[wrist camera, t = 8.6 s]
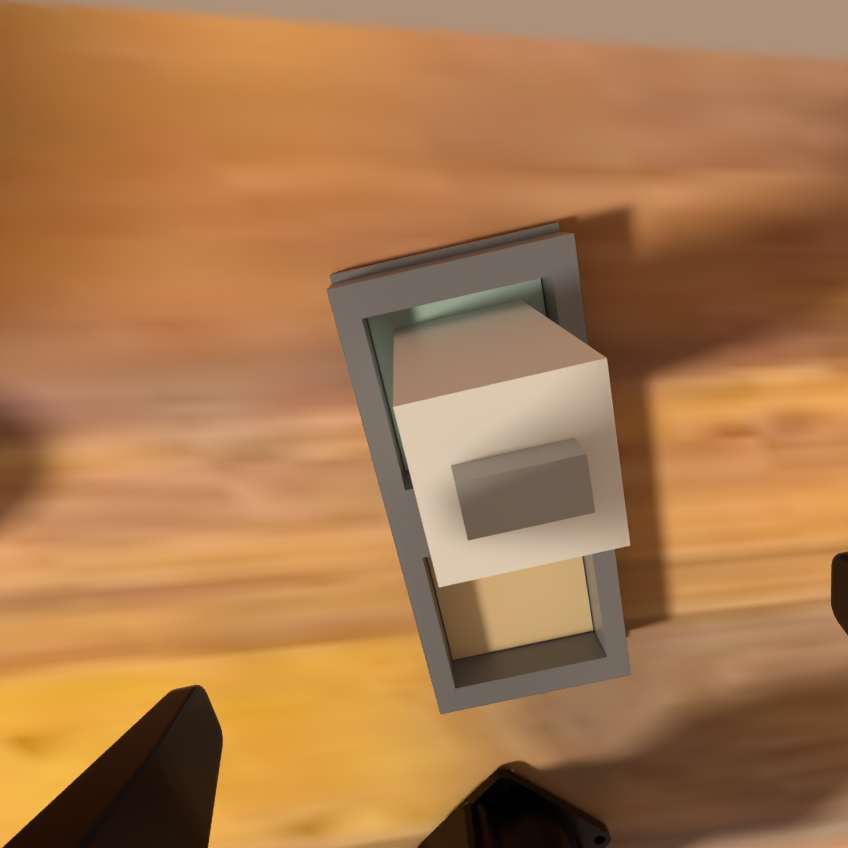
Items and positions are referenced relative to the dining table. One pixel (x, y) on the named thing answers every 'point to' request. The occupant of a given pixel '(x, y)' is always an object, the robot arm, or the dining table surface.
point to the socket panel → (432, 605)
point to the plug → (507, 441)
